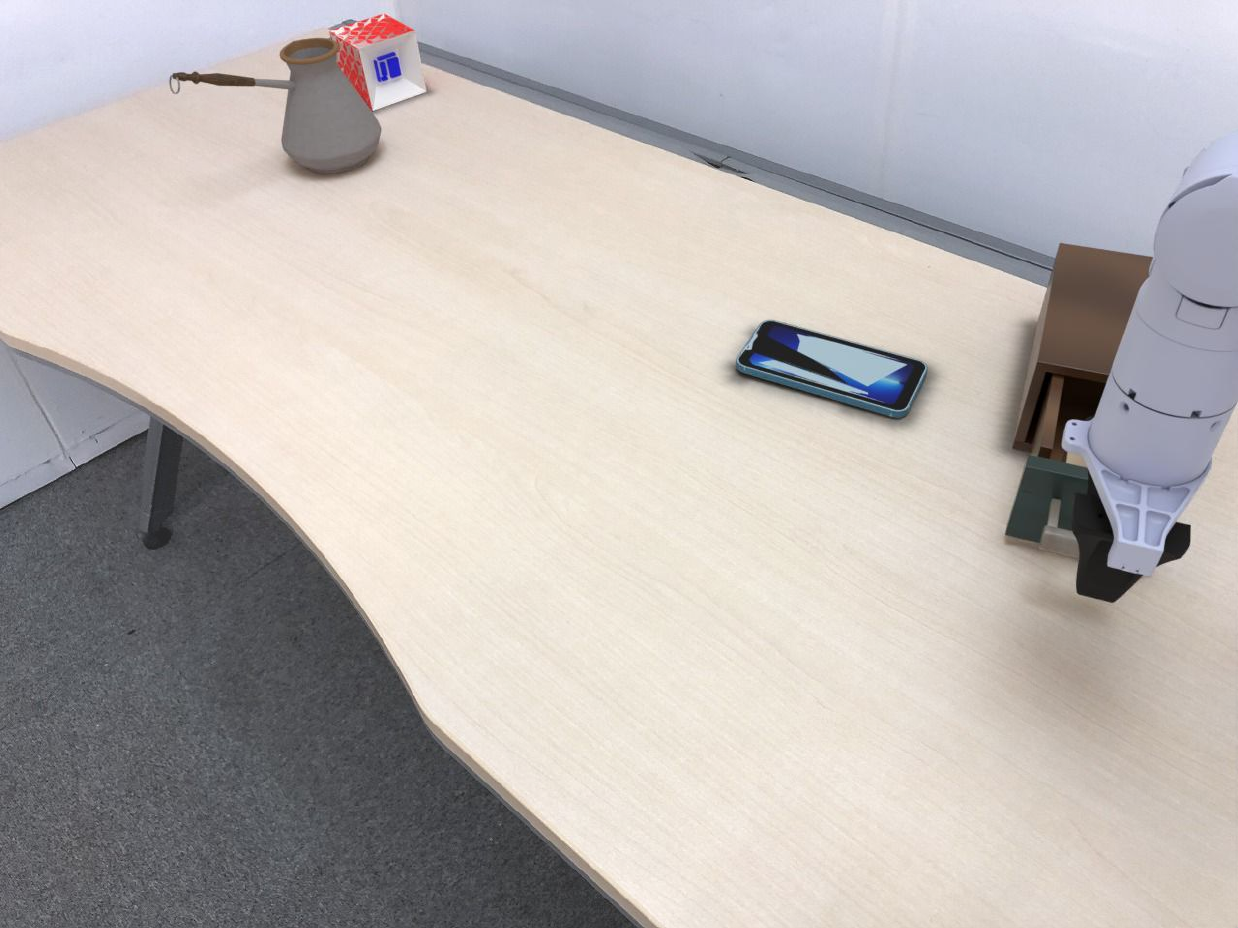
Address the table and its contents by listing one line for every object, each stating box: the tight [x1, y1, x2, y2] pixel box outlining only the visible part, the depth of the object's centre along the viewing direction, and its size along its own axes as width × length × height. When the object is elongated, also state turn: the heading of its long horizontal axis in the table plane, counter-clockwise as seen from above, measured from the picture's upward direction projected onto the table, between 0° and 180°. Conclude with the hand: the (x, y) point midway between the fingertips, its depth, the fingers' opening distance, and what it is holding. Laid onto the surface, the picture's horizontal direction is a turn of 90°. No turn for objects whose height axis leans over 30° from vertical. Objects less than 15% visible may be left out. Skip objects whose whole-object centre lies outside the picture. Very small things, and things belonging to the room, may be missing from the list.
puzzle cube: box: [328, 13, 428, 112], centre depth 131 cm, size 8×8×8 cm
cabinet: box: [1011, 242, 1154, 453], centre depth 81 cm, size 17×11×9 cm, turn 158°
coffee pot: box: [168, 37, 383, 175], centre depth 113 cm, size 21×12×15 cm, turn 131°
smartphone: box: [735, 319, 929, 418], centre depth 87 cm, size 7×1×15 cm
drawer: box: [1004, 372, 1106, 559], centre depth 72 cm, size 20×9×7 cm, turn 158°
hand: (1099, 562), depth 59 cm, fingers open, 4 cm apart
